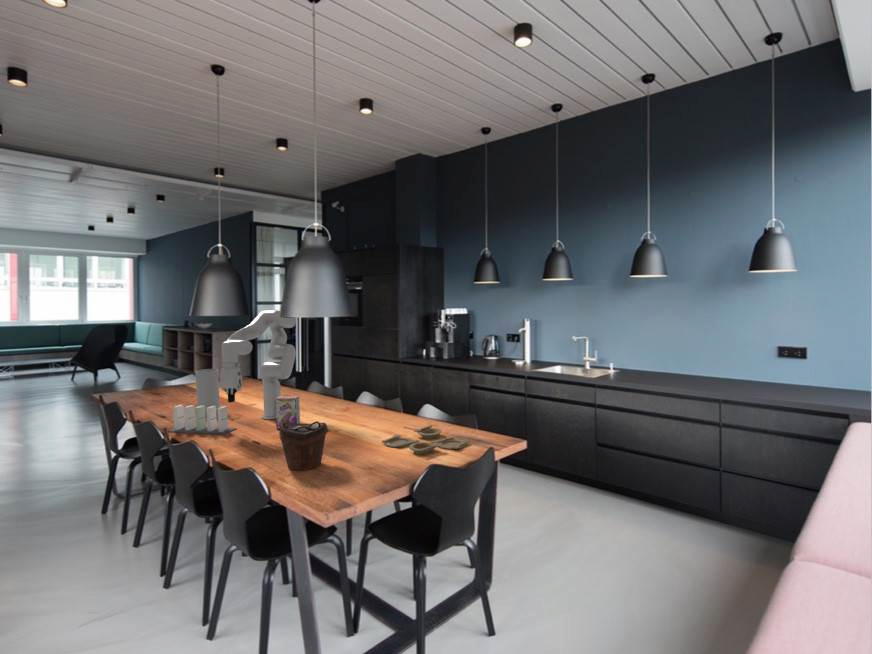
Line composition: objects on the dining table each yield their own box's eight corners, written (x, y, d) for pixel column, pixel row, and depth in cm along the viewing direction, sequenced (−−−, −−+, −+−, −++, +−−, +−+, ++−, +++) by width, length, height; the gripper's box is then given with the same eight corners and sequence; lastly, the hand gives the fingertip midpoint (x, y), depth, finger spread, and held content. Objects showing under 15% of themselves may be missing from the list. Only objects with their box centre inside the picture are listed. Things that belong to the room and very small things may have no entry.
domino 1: (184, 427, 261) (183, 404, 260) (177, 429, 256) (176, 407, 256) (181, 427, 262) (180, 404, 261) (174, 429, 257) (173, 406, 256)
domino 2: (195, 427, 260) (194, 405, 259) (188, 430, 255) (187, 407, 254) (192, 427, 260) (190, 405, 259) (185, 430, 255) (184, 407, 255)
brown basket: (339, 463, 200) (337, 419, 199) (296, 477, 185) (293, 430, 184) (314, 455, 212) (311, 413, 211) (271, 468, 197) (268, 423, 196)
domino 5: (228, 429, 255) (227, 406, 255) (222, 431, 251) (220, 408, 250) (224, 429, 256) (223, 406, 255) (218, 431, 251) (217, 408, 250)
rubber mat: (236, 429, 257) (236, 428, 257) (224, 434, 248) (224, 433, 248) (181, 426, 265) (181, 425, 265) (167, 431, 255) (167, 431, 255)
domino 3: (206, 428, 258) (205, 405, 258) (199, 430, 254) (198, 407, 253) (202, 428, 259) (201, 405, 258) (196, 430, 254) (195, 407, 253)
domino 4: (217, 428, 257) (216, 405, 256) (210, 431, 252) (209, 408, 251) (213, 428, 257) (212, 405, 257) (207, 431, 252) (206, 408, 252)
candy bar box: (276, 429, 254) (274, 398, 253) (280, 427, 259) (278, 396, 258) (297, 429, 253) (295, 398, 252) (300, 427, 258) (299, 396, 257)
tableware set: (376, 443, 228) (376, 434, 228) (426, 431, 246) (426, 423, 246) (424, 461, 201) (424, 452, 201) (475, 446, 220) (475, 437, 219)
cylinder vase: (214, 413, 294) (212, 371, 293) (193, 413, 295) (191, 372, 293) (223, 408, 307) (221, 368, 305) (203, 409, 307) (201, 369, 306)
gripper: (248, 365, 252) (249, 400, 252) (222, 364, 255) (223, 400, 256) (239, 366, 244) (240, 403, 245) (212, 366, 248) (213, 402, 248)
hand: (231, 401), depth 250 cm, fingers closed
